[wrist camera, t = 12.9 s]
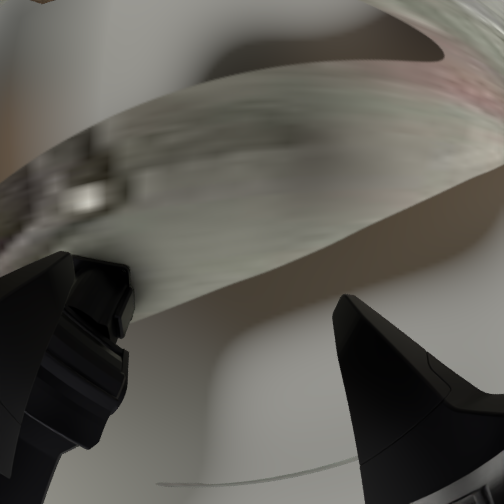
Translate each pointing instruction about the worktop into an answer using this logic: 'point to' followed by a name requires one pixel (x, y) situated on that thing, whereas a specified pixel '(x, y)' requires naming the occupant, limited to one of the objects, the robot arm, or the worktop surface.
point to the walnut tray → (42, 1)
